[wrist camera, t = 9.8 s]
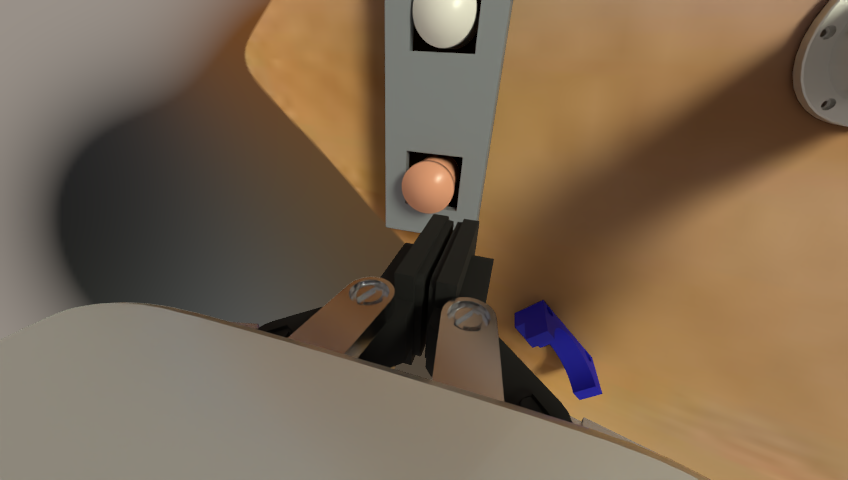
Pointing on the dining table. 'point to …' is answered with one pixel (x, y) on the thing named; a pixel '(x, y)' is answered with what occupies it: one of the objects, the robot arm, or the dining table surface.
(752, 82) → the dining table surface
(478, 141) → the block
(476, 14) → the plug
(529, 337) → the blue curved block
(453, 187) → the terracotta plug
